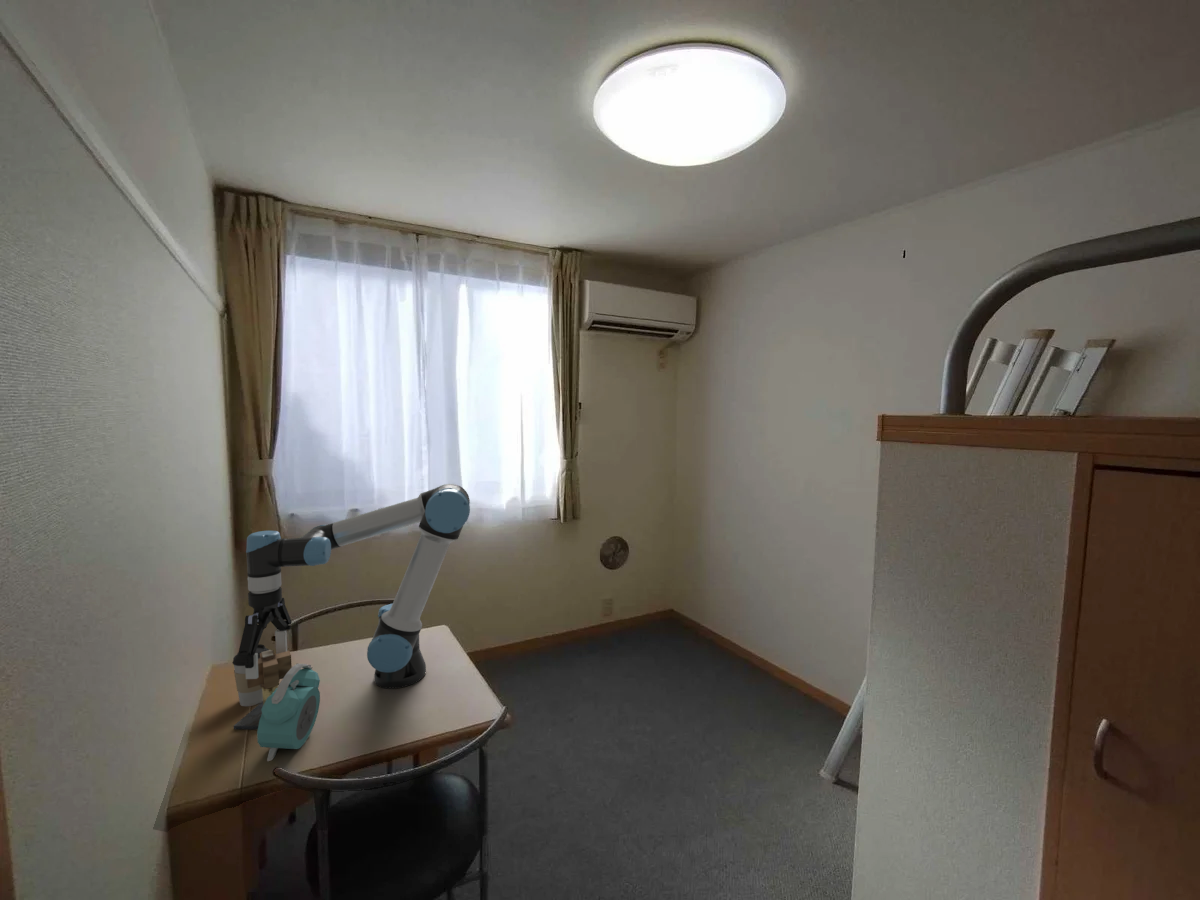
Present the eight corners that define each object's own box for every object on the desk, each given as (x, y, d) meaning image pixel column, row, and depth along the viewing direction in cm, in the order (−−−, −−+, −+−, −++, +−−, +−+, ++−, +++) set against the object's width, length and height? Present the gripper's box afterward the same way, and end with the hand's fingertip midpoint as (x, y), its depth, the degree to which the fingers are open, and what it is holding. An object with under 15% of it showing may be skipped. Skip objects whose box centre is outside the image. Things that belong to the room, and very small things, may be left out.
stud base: (306, 703, 142) (305, 672, 141) (278, 729, 130) (277, 696, 129) (264, 702, 142) (263, 672, 142) (233, 729, 130) (231, 696, 130)
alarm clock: (290, 723, 133) (286, 651, 131) (327, 722, 133) (324, 650, 132) (250, 770, 115) (245, 687, 114) (293, 767, 116) (289, 685, 115)
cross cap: (294, 684, 135) (292, 658, 134) (249, 697, 128) (247, 670, 128) (288, 669, 142) (287, 645, 142) (246, 681, 136) (244, 656, 136)
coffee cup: (253, 710, 139) (250, 658, 137) (226, 706, 140) (223, 655, 139) (280, 692, 147) (277, 643, 146) (254, 689, 149) (252, 641, 148)
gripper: (276, 574, 146) (279, 644, 147) (218, 607, 121) (221, 690, 122) (303, 574, 146) (305, 643, 148) (250, 606, 121) (253, 689, 123)
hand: (267, 665), depth 135 cm, fingers open, 13 cm apart
